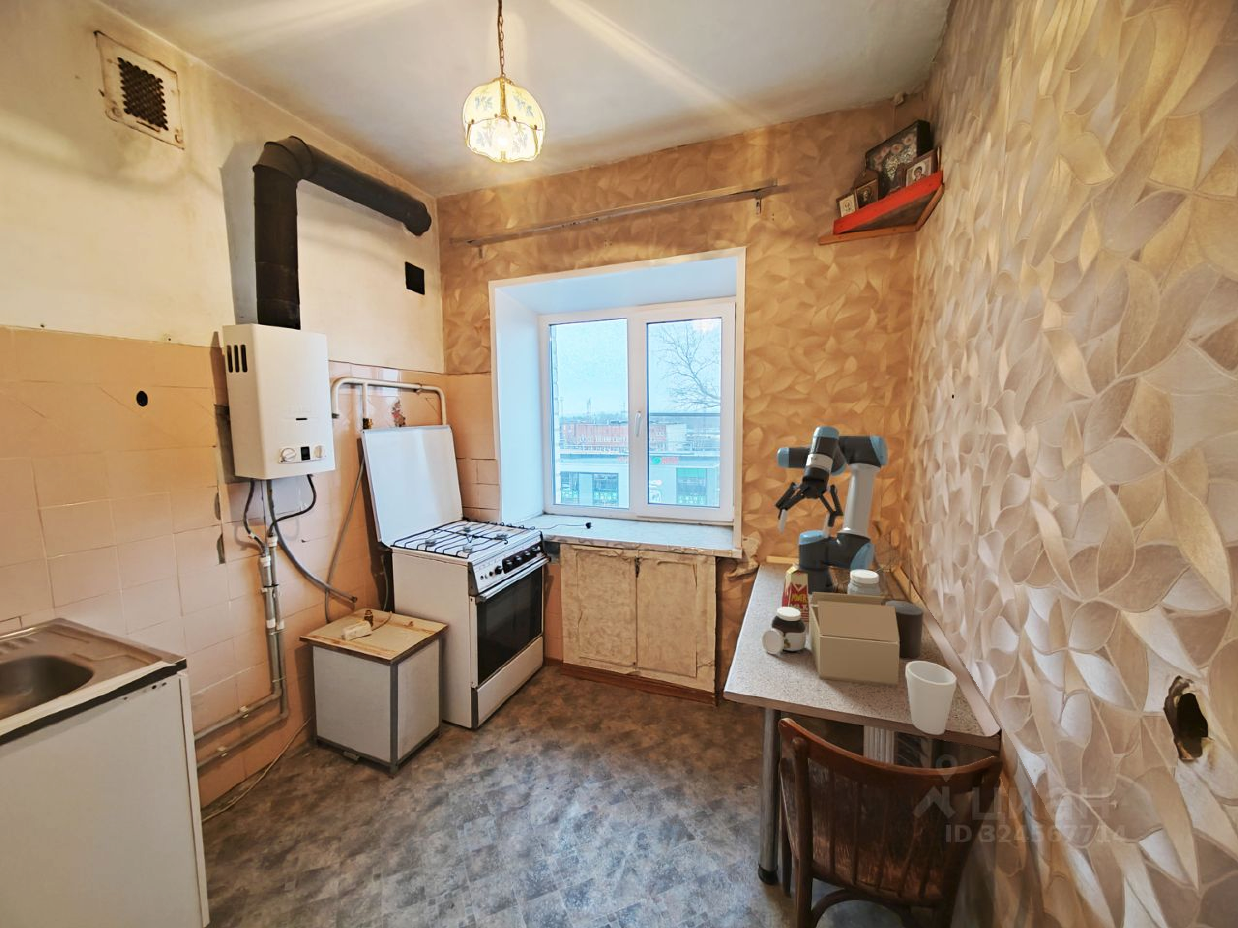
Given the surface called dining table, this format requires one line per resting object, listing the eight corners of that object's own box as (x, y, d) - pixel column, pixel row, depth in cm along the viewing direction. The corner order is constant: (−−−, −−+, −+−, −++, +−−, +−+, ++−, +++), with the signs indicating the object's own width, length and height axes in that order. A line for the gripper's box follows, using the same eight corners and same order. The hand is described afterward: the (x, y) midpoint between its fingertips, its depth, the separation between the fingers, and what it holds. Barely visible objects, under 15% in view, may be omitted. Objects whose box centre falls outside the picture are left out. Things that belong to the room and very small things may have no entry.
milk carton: (812, 625, 152) (813, 568, 150) (784, 623, 154) (784, 567, 151) (807, 612, 161) (808, 559, 158) (780, 611, 163) (780, 558, 160)
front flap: (817, 600, 125) (817, 600, 125) (893, 606, 120) (894, 606, 120) (820, 634, 121) (820, 634, 121) (899, 641, 116) (899, 641, 116)
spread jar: (807, 645, 139) (808, 609, 138) (801, 663, 130) (802, 625, 128) (768, 636, 145) (768, 602, 144) (759, 653, 136) (759, 616, 134)
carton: (808, 641, 141) (809, 605, 140) (875, 647, 136) (877, 610, 135) (819, 678, 122) (820, 636, 121) (897, 687, 117) (899, 644, 116)
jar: (847, 628, 148) (848, 576, 146) (846, 616, 157) (847, 566, 155) (881, 634, 144) (883, 580, 142) (878, 620, 153) (880, 570, 151)
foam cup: (894, 712, 108) (896, 662, 106) (930, 709, 108) (933, 659, 107) (924, 741, 98) (927, 686, 97) (963, 737, 99) (967, 683, 97)
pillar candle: (901, 661, 129) (904, 612, 127) (875, 644, 138) (877, 598, 136) (929, 656, 131) (932, 608, 129) (901, 640, 140) (903, 594, 139)
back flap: (884, 597, 128) (884, 596, 128) (813, 592, 133) (812, 591, 133) (877, 609, 135) (877, 607, 135) (809, 604, 140) (809, 602, 140)
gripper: (775, 464, 149) (758, 523, 142) (855, 466, 131) (840, 534, 124) (784, 475, 153) (768, 532, 147) (863, 478, 135) (849, 544, 129)
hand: (801, 533), depth 135 cm, fingers open, 13 cm apart
